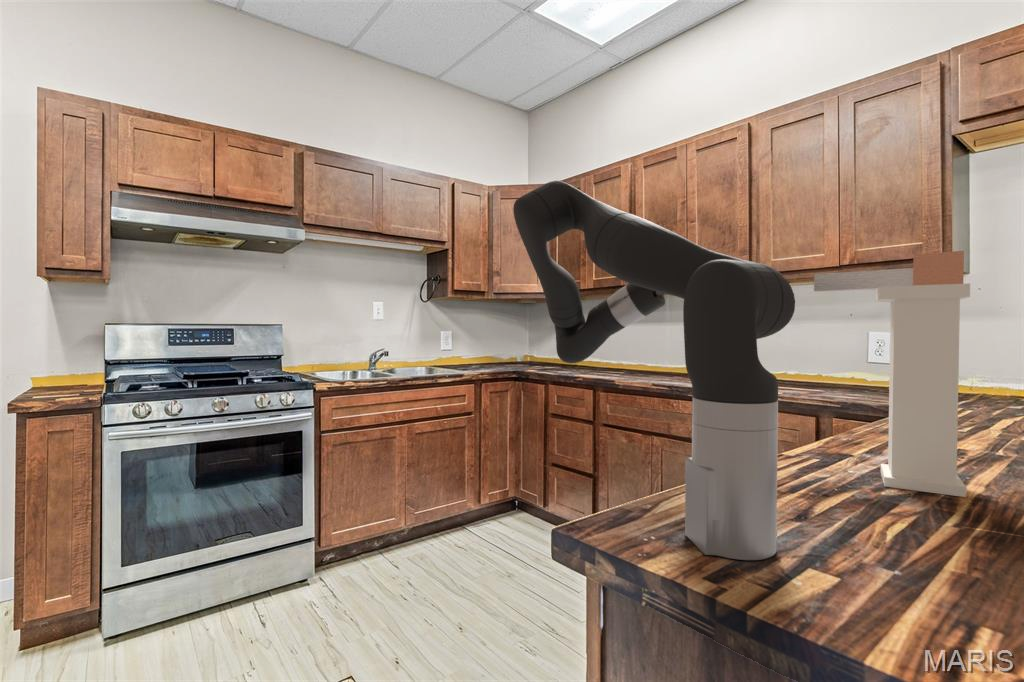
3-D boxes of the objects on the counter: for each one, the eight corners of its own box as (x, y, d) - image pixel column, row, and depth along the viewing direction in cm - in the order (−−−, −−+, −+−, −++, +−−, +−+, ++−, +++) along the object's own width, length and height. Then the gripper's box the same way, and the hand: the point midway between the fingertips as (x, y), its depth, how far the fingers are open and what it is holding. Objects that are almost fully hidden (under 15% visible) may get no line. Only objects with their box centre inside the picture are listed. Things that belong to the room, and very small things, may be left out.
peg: (812, 290, 91) (812, 261, 91) (818, 292, 96) (819, 265, 96) (963, 284, 78) (963, 250, 78) (962, 286, 83) (963, 255, 83)
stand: (876, 485, 84) (879, 286, 83) (873, 471, 92) (876, 290, 92) (966, 497, 78) (970, 283, 77) (954, 480, 86) (957, 288, 86)
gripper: (613, 282, 101) (688, 233, 93) (638, 287, 112) (706, 244, 105) (632, 316, 99) (710, 268, 91) (655, 317, 111) (726, 275, 103)
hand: (708, 255), depth 98 cm, fingers open, 8 cm apart
